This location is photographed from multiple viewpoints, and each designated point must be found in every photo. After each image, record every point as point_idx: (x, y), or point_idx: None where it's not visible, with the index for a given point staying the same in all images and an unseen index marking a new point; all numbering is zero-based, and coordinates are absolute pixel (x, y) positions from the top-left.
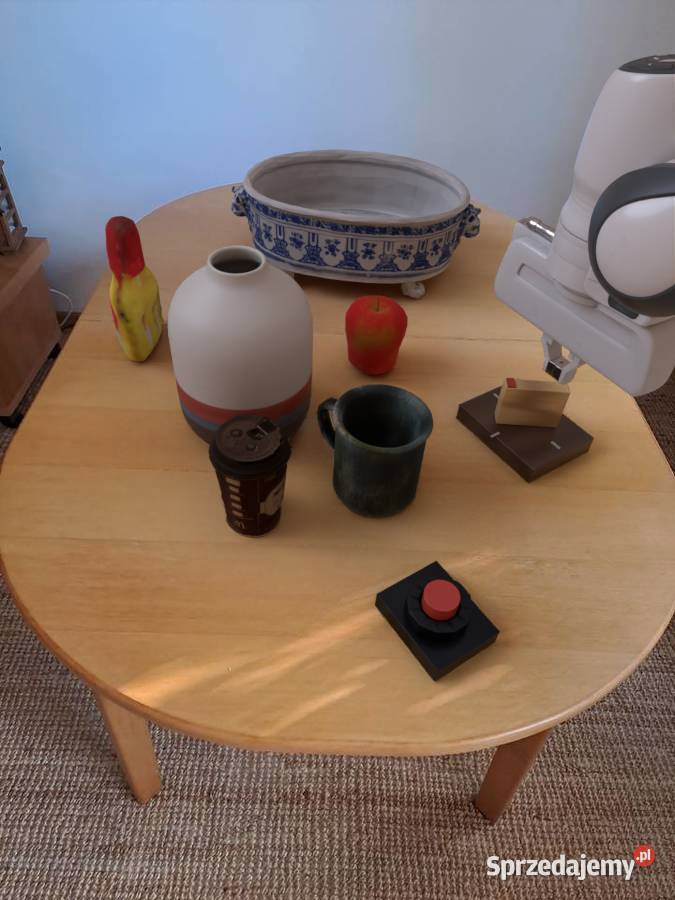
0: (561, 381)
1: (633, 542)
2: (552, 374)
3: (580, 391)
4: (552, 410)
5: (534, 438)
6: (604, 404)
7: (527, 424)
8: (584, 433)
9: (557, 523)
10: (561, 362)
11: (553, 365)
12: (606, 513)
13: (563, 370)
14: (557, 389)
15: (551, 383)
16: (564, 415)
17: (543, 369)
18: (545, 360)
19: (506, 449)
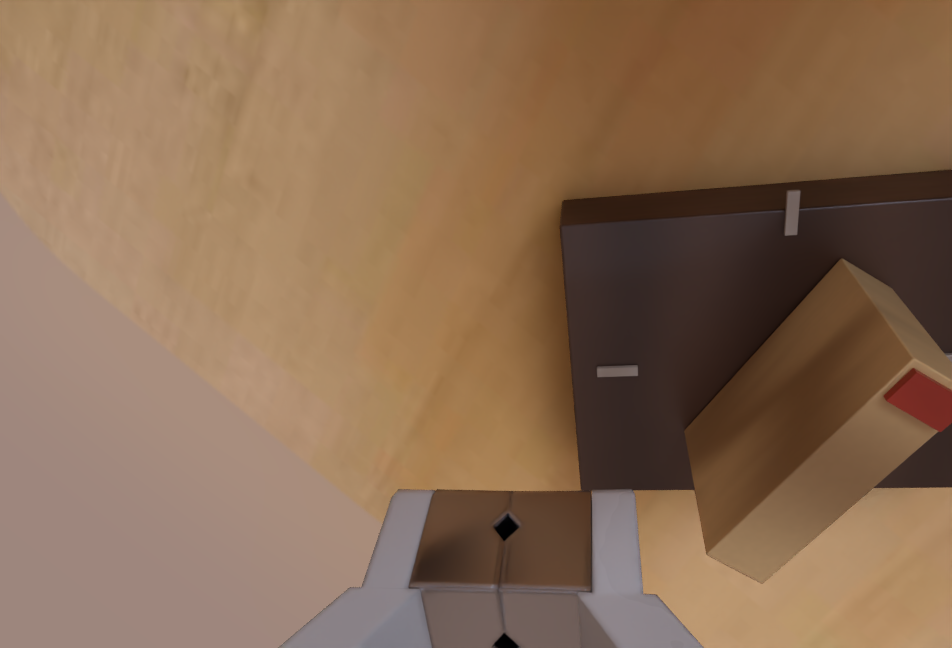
0: (398, 504)
1: (246, 321)
2: (504, 505)
3: (797, 597)
4: (720, 455)
5: (686, 332)
6: (710, 609)
7: (756, 355)
8: (613, 481)
9: (377, 172)
10: (514, 645)
11: (522, 573)
12: (358, 330)
13: (390, 590)
14: (753, 529)
15: (799, 535)
16: None
17: (614, 494)
18: (630, 567)
19: (707, 209)
